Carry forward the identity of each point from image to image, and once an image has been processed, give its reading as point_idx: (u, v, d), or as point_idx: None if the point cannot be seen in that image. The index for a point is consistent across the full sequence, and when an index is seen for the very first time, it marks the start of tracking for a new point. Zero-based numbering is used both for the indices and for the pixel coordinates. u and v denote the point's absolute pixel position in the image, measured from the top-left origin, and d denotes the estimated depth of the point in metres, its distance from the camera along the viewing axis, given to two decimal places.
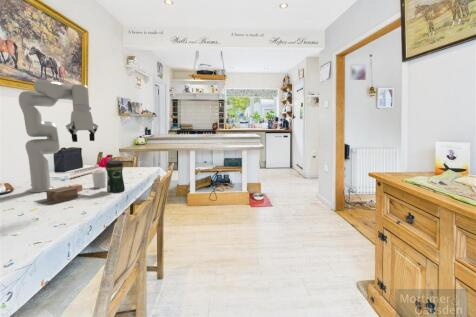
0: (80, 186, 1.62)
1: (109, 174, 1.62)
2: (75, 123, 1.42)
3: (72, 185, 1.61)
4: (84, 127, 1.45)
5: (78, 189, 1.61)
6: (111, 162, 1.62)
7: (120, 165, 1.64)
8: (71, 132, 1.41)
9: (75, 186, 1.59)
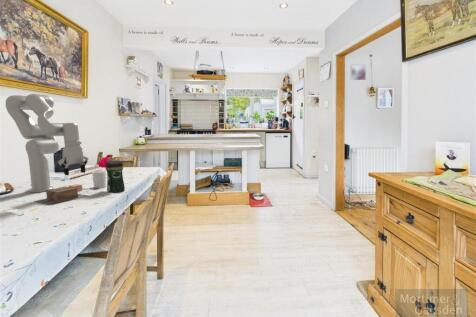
0: (80, 186, 1.62)
1: (109, 174, 1.62)
2: (66, 158, 1.55)
3: (72, 185, 1.61)
4: (75, 161, 1.59)
5: (78, 189, 1.61)
6: (111, 162, 1.62)
7: (120, 165, 1.64)
8: (63, 167, 1.54)
9: (75, 186, 1.59)
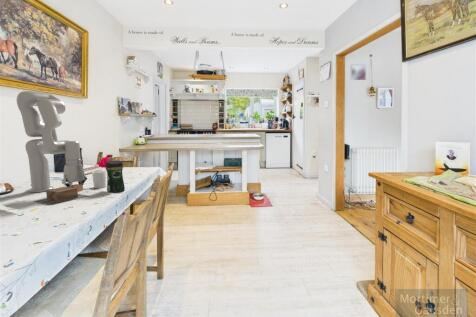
0: (80, 186, 1.62)
1: (109, 174, 1.62)
2: (67, 176, 1.56)
3: (72, 185, 1.61)
4: (76, 179, 1.60)
5: (78, 189, 1.61)
6: (111, 162, 1.62)
7: (120, 165, 1.64)
8: (67, 186, 1.57)
9: (75, 186, 1.59)
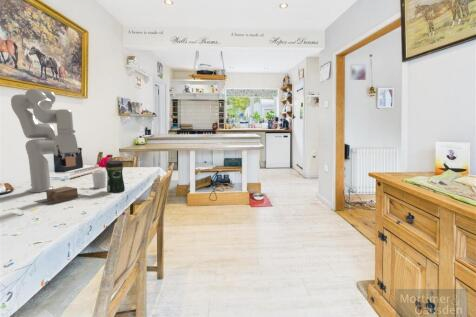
0: (73, 158, 1.53)
1: (109, 174, 1.62)
2: (59, 147, 1.47)
3: (65, 157, 1.52)
4: (68, 150, 1.50)
5: (71, 161, 1.52)
6: (111, 162, 1.62)
7: (120, 165, 1.64)
8: (60, 157, 1.48)
9: (68, 157, 1.50)
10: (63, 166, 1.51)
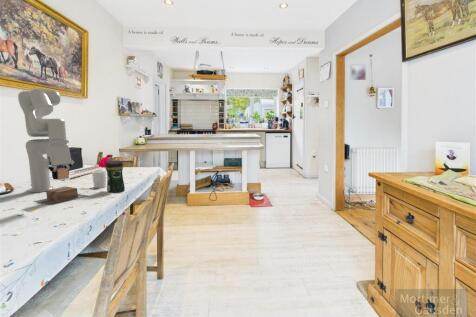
0: (66, 170, 1.43)
1: (109, 174, 1.62)
2: (51, 159, 1.37)
3: (57, 169, 1.42)
4: (61, 162, 1.41)
5: (64, 173, 1.42)
6: (111, 162, 1.62)
7: (120, 165, 1.64)
8: (51, 170, 1.39)
9: (60, 170, 1.40)
10: None
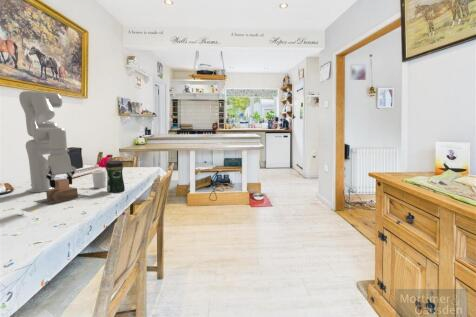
0: (66, 181, 1.44)
1: (109, 174, 1.62)
2: (52, 168, 1.38)
3: (57, 180, 1.43)
4: (61, 171, 1.42)
5: (64, 184, 1.43)
6: (111, 162, 1.62)
7: (120, 165, 1.64)
8: (49, 178, 1.38)
9: (61, 181, 1.41)
10: None
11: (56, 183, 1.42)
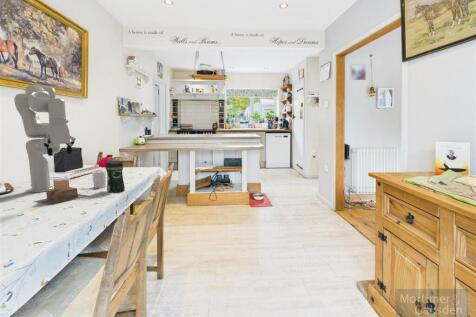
0: (66, 181, 1.44)
1: (109, 174, 1.62)
2: (50, 137, 1.41)
3: (57, 180, 1.43)
4: (60, 141, 1.45)
5: (64, 184, 1.43)
6: (111, 162, 1.62)
7: (120, 165, 1.64)
8: (46, 146, 1.41)
9: (61, 181, 1.41)
10: None
11: (56, 183, 1.42)
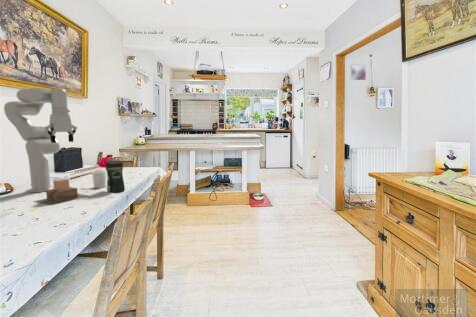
0: (66, 181, 1.44)
1: (109, 174, 1.62)
2: (53, 125, 1.50)
3: (57, 180, 1.43)
4: (62, 129, 1.54)
5: (64, 184, 1.43)
6: (111, 162, 1.62)
7: (120, 165, 1.64)
8: (50, 133, 1.50)
9: (61, 181, 1.41)
10: None
11: (56, 183, 1.42)
